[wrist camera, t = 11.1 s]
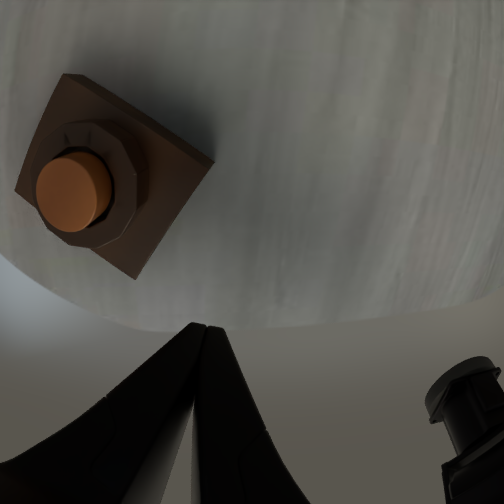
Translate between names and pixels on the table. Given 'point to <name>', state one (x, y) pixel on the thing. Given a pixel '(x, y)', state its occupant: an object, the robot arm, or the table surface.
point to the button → (73, 190)
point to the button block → (116, 169)
